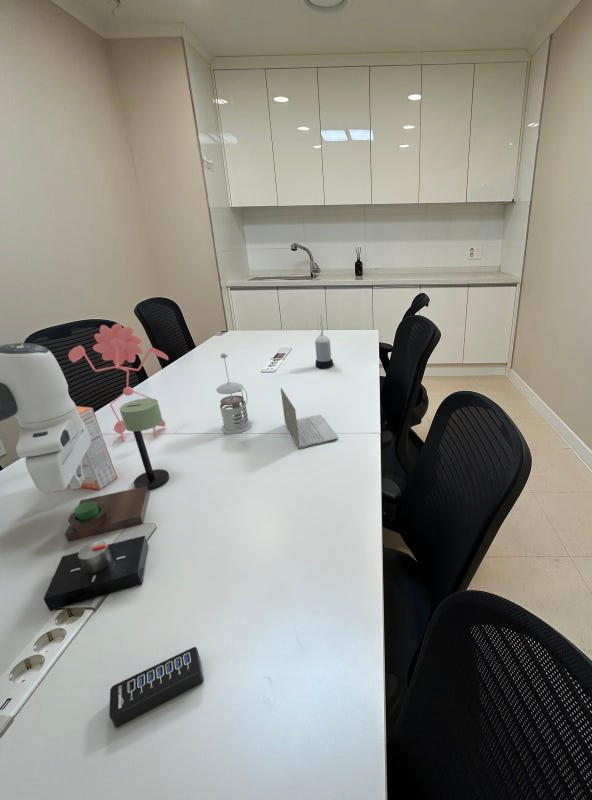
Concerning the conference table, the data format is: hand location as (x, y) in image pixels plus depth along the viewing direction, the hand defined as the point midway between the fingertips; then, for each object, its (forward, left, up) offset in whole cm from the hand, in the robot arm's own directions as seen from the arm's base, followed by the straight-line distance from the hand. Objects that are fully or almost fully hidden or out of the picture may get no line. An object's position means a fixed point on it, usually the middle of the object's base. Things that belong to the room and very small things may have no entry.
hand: (78, 485), depth 80 cm
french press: (+33, +38, -11) cm, 51 cm away
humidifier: (+75, +85, -11) cm, 114 cm away
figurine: (+4, +48, -11) cm, 49 cm away
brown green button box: (+3, +3, -11) cm, 12 cm away
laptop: (+54, +24, -11) cm, 60 cm away
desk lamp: (+10, +14, -11) cm, 20 cm away
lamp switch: (0, 0, -8) cm, 8 cm away
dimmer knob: (+5, -16, -8) cm, 19 cm away
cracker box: (-6, +21, -11) cm, 25 cm away
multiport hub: (+17, -42, -11) cm, 47 cm away
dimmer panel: (+5, -16, -11) cm, 20 cm away
